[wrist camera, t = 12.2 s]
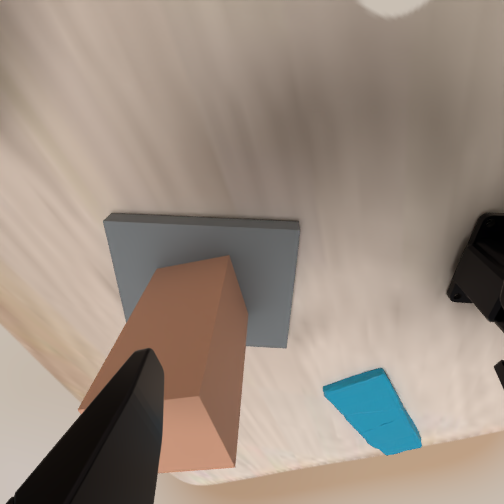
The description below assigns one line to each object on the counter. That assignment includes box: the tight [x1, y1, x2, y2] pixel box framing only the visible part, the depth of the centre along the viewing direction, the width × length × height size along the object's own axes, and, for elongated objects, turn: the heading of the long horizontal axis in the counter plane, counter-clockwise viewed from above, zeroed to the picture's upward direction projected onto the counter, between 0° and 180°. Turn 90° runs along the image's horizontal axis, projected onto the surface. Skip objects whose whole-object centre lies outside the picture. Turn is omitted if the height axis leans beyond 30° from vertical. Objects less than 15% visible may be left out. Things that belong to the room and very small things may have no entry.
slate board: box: [103, 213, 300, 348], centre depth 22 cm, size 12×10×1 cm
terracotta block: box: [78, 255, 248, 473], centre depth 17 cm, size 5×5×10 cm
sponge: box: [323, 368, 422, 455], centre depth 29 cm, size 2×12×6 cm
